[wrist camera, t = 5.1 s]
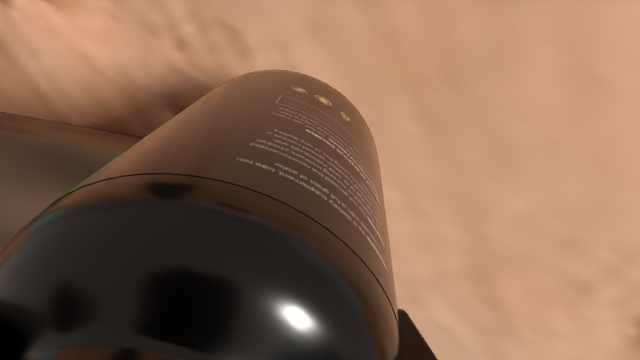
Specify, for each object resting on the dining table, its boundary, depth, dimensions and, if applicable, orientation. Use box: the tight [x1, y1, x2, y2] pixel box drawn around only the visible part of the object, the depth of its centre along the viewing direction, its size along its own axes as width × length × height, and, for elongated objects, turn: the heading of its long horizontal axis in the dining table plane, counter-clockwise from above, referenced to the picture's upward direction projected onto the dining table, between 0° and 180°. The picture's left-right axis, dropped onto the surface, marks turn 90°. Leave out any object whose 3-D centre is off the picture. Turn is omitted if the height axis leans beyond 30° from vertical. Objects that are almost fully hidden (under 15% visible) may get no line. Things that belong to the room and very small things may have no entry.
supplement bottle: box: [0, 70, 402, 360], centre depth 8 cm, size 7×7×12 cm
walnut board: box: [0, 112, 144, 254], centre depth 23 cm, size 16×16×2 cm
